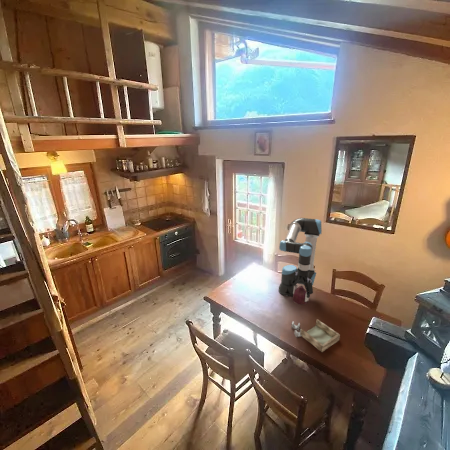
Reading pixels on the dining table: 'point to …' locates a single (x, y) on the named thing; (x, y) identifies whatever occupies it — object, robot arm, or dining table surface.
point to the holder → (321, 336)
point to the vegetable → (299, 296)
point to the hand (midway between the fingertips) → (300, 297)
